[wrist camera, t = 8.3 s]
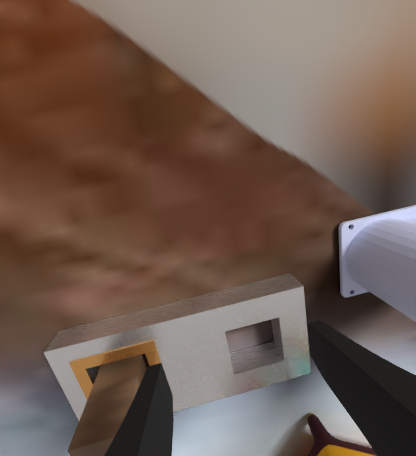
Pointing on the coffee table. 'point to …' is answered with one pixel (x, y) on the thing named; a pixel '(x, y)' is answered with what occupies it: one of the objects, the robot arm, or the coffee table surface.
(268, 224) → the coffee table surface
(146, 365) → the walnut peg
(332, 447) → the decorative lantern
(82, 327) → the peg-in-hole board
